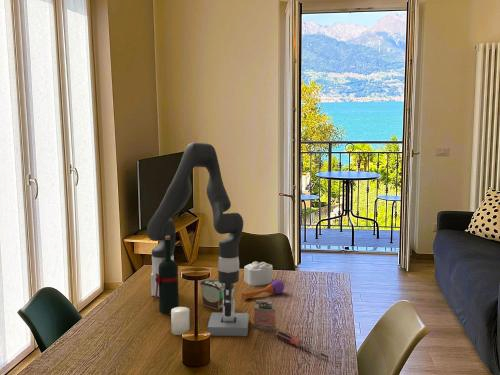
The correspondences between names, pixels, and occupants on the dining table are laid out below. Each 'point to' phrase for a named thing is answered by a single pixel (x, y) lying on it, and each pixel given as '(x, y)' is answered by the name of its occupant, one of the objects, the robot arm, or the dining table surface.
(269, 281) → the lumpy-topped squat cylinder
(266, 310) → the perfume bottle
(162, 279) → the wine bottle
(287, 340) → the screwdriver
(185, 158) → the robot arm
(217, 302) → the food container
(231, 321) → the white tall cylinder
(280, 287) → the kendama
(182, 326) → the white short cylinder
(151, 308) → the dining table surface
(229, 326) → the socket block
